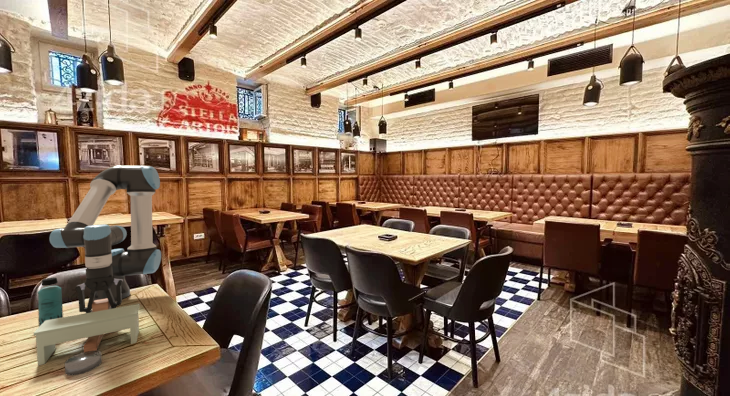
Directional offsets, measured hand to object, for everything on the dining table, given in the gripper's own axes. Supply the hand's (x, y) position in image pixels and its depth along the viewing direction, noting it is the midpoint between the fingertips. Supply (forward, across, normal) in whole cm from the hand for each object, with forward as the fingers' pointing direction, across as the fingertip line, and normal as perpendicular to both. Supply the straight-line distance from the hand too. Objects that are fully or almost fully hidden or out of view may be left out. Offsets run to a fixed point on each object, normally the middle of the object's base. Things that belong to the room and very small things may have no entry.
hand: (102, 326), depth 113 cm
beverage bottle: (+2, -16, +10) cm, 19 cm away
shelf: (+1, 0, -14) cm, 14 cm away
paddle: (0, 0, -9) cm, 9 cm away
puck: (+1, 0, -28) cm, 28 cm away
